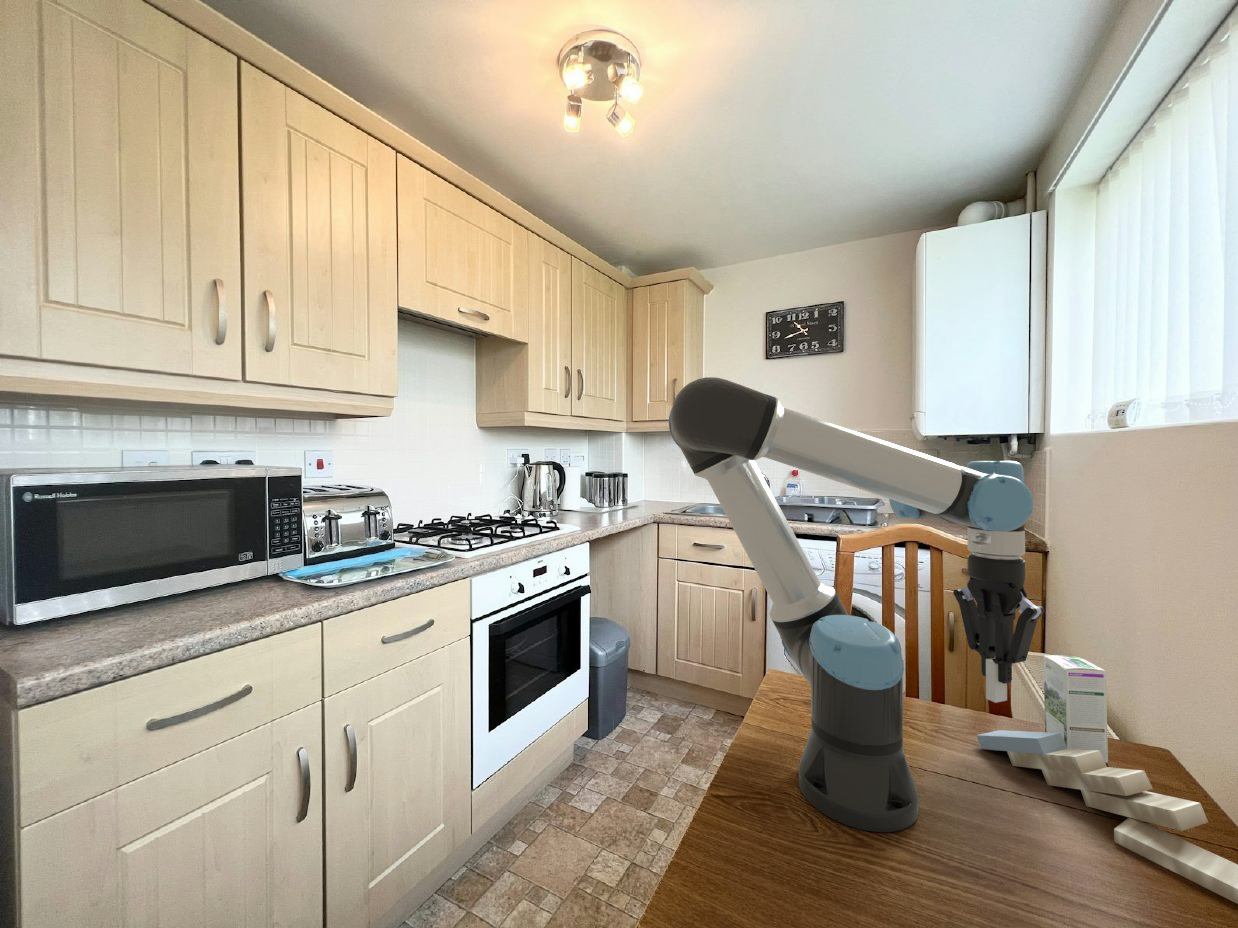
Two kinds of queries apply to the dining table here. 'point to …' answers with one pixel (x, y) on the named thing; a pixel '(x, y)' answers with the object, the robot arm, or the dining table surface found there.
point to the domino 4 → (1149, 808)
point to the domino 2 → (1060, 760)
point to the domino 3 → (1101, 780)
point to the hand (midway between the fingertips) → (996, 699)
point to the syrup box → (1076, 702)
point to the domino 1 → (1022, 741)
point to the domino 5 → (1180, 857)
